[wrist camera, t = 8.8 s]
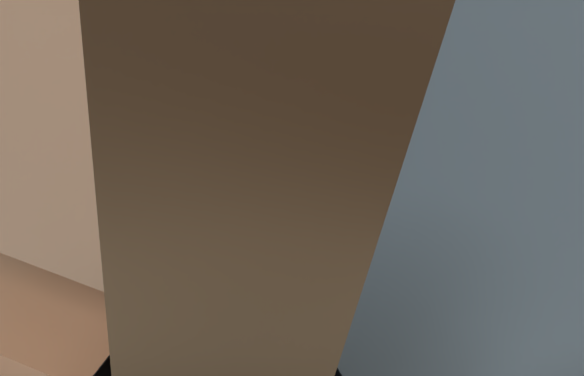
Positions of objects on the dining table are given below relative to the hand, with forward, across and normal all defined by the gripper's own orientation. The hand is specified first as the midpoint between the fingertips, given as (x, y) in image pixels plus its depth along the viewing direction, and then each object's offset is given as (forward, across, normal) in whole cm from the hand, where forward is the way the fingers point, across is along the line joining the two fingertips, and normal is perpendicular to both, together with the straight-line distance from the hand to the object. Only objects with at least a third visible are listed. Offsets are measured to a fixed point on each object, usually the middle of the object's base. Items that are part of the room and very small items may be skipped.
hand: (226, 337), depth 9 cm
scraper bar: (+1, 0, 0) cm, 1 cm away
